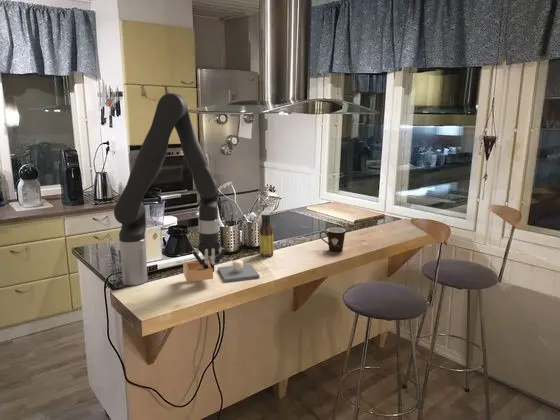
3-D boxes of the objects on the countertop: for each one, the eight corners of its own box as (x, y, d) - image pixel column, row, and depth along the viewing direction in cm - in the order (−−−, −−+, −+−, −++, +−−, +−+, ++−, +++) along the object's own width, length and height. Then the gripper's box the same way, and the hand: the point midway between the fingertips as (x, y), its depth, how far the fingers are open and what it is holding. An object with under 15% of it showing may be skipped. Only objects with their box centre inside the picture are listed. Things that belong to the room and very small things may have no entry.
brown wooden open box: (186, 281, 162) (186, 271, 161) (183, 272, 171) (183, 262, 170) (213, 278, 165) (212, 269, 164) (208, 269, 174) (208, 260, 173)
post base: (224, 282, 169) (224, 269, 168) (218, 270, 182) (217, 258, 181) (259, 277, 174) (259, 265, 173) (250, 266, 187) (250, 254, 186)
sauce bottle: (266, 252, 206) (265, 211, 201) (276, 254, 202) (276, 213, 197) (256, 255, 201) (256, 213, 196) (267, 258, 197) (266, 215, 192)
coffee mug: (348, 250, 209) (349, 230, 207) (337, 254, 203) (338, 233, 201) (328, 245, 217) (329, 225, 215) (318, 248, 211) (318, 229, 208)
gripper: (192, 234, 160) (193, 278, 164) (228, 231, 164) (228, 274, 168) (189, 229, 167) (190, 271, 171) (224, 226, 171) (224, 268, 175)
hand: (209, 273), depth 169 cm, fingers closed on brown wooden open box, 1 cm apart
